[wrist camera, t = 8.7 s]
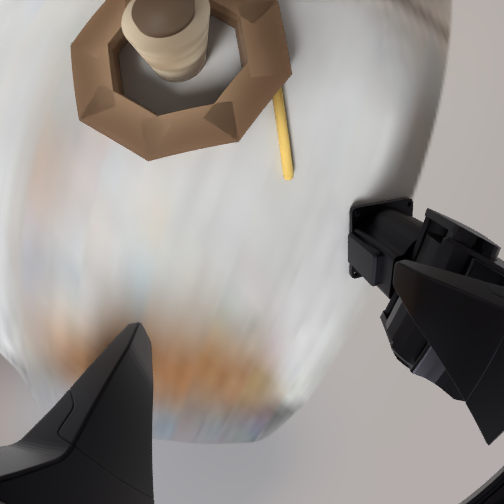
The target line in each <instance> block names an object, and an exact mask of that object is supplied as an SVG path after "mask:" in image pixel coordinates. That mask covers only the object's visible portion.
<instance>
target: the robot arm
mask: <svg viewBox="0 0 504 504" xmlns="http://www.w3.org/2000/svg"><path fill="white" fill-rule="evenodd" d="M407 203H408V205H407ZM356 211H358V212H357V214H356V215H355V212H356ZM412 212H413V201H412V199H410V198H407V197H406V198H400V199H394V200H388V201H382V202H376V203H371V204H365V205H359V206H354V207H352V208H351V210H350V213H349V214H350V233H349V235H348V262H349V263H350V265H349V274H350V276H351V277H352V278H359V277H364V278H365V279H366V280H367V281H368V282H369V284H371V285H372V286H377V287H378V288H379V289H380V290H381V291H382V292H383V293H384V294H385V295H386V296H387V297H388V298H389V299H391V300H390V302H389V304H388V305H387V307H386V309H385V310H384V311H383V313H382V315H381V316H380V318H381V320H382V323H383V325H384V328H385V331H386V333H387V336H388V339H389V342H390V345H391V348H392V350H393V352H394V354H395V356H396V357H397V359H398V360H399V361H400V362H401V363H402V364H404V365H405V366H406V367H408V368H410V371H411V372H412V373H414V374H416V375H419V376H422V377H424V378H426V379H428V380H430V381H431V382H433V383H435V384H436V385H438V386H439V387H440V388H442V389H443V390H444V391H445V392H446V393H448V394H449V395H450V396H451V397H452V398H453V399H456V400H461V401H465V402H466V404H467V406H468V408H469V410H470V412H471V413H472V415H473V417H474V419H475V421H476V423H477V425H478V427H479V429H480V431H481V433H482V435H483V437H484V439H485V441H486V443H487V444H488V445H490V444H491V443H492V442H493V441H494V440H495V439H496V438H498V436H500V435H501V434H502V433H503V432H504V261H503V260H501V259H500V258H498V257H497V256H498V254H499V251H500V249H501V248H500V247H499V246H498V245H497V244H495V243H494V242H492V241H491V240H489V239H488V238H486V237H485V236H484V235H482V234H480V233H479V232H477V231H475V230H473V229H471V228H470V227H468V226H466V225H464V224H462V223H460V222H458V221H456V220H453V219H451V218H449V217H447V216H445V215H442V214H440V213H438V212H436V211H433V210H431V209H429V208H427V210H426V213H425V216H426V217H425V220H424V223H423V222H421V221H419V220H417V219H416V218H413V217H412ZM355 271H356V273H355V274H354V272H355ZM152 410H153V369H152V347H151V342H150V339H149V337H148V335H147V333H146V331H145V329H144V327H143V325H142V324H141V323H140V322H137V323H131V324H128V325H127V326H126V328H125V329H124V330H123V331H122V332H121V333H120V334H119V335H118V336H117V337H116V338H115V339H114V340H113V341H112V343H111V344H110V345H109V346H108V347H107V348H106V349H105V350H104V351H103V352H102V353H101V354H100V356H99V357H98V358H97V359H96V360H95V361H94V362H93V363H92V364H91V365H90V367H89V368H88V369H87V370H86V371H85V372H84V373H83V374H82V375H81V377H80V378H79V379H78V380H77V381H76V382H75V383H74V384H73V386H72V387H71V388H70V390H68V391H67V392H66V394H65V395H64V396H63V397H62V398H61V399H60V400H59V401H58V403H57V404H56V405H55V406H54V407H53V408H52V409H51V410H50V411H49V412H48V413H47V414H46V415H45V416H44V417H43V418H42V419H41V420H40V421H39V422H38V423H37V424H36V425H35V426H34V427H33V428H32V429H31V430H30V431H29V432H28V433H27V434H26V435H25V436H24V437H23V438H22V439H21V440H19V441H18V442H16V443H14V444H12V445H8V446H2V447H0V504H154V499H153V498H154V495H153V476H152V475H153V473H152ZM459 504H504V466H503V467H502V468H501V469H500V470H499V471H498V472H497V473H496V474H495V475H494V476H492V477H491V478H490V479H489V480H488V481H487V482H486V483H485V484H484V485H482V486H481V487H480V488H479V489H477V490H476V491H475V492H474V493H473V494H471V495H470V496H469V497H467V498H466V499H465V500H464V501H462V502H461V503H459Z"/></svg>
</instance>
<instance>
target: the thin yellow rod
mask: <svg viewBox="0 0 504 504" xmlns="http://www.w3.org/2000/svg"><path fill="white" fill-rule="evenodd" d="M273 104H274V110H275V117H276V124H277V131H278V138H279V145H280V153H281V160H282V168H283V176H284V178H285V179H286V180H291V179H292V178H293V166H292V158H291V150H290V142H289V135H288V127H287V120H286V113H285V106H284V100H283V93H282V87H281V88H280V89H279V90H278V92H277V93H276V94H275V95H274V97H273Z"/></svg>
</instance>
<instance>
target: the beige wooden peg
mask: <svg viewBox="0 0 504 504" xmlns="http://www.w3.org/2000/svg"><path fill="white" fill-rule="evenodd" d="M209 18H210V4H209V0H131V1H130V2H129V4H128V5H127V7H126V8H125V11H124V13H123V16H122V21H121V26H122V31H123V34H124V36H125V37H126V39H127V40H128V41H129V42H130V43H131V44H132V46H133V47H134V48H135V49H136V50H137V51H138V52H139V54H140V55H141V56H142V57H143V58H144V59H145V61H146V62H147V63H148V64H149V65H150V66H151V68H152V69H153V70H154V71H155V72H156V74H157V75H158V76H159V77H161V78H162V79H164V80H166V81H170V82H183V81H186V80H189V79H191V78H193V77H194V76H196V75H197V74H198V73H199V72H200V71H201V70H202V68H203V67H204V65H205V62H206V54H207V41H208V29H209Z"/></svg>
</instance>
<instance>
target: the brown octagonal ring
mask: <svg viewBox="0 0 504 504" xmlns="http://www.w3.org/2000/svg"><path fill="white" fill-rule="evenodd" d="M130 1H131V0H106V1H105V2H104V3H103V4H102V6H101V7H100V8H99V9H98V10H97V11H96V13H95V14H94V15H93V16H92V18H91V19H90V20H89V21H88V23H87V24H86V25H85V27H84V28H83V29H82V31H81V32H80V33H79V35H78V36H77V37H76V39H75V40H74V42H73V43H72V44H71V60H72V71H73V81H74V89H75V97H76V103H77V110H78V116H79V120H80V121H81V122H83V123H85V124H86V125H88V126H90V127H92V128H93V129H95V130H97V131H98V132H100V133H102V134H104V135H105V136H107V137H109V138H110V139H112V140H114V141H115V142H117V143H119V144H120V145H122V146H124V147H126V148H127V149H129V150H131V151H132V152H134V153H136V154H137V155H139V156H141V157H142V158H144V159H145V160H147V161H151V160H155V159H159V158H163V157H167V156H171V155H175V154H179V153H184V152H188V151H193V150H197V149H202V148H207V147H212V146H217V145H222V144H228V143H233V142H239V140H240V139H241V138H242V136H243V135H244V134H245V132H246V131H247V130H248V128H249V127H250V126H251V125H252V123H253V122H254V121H255V119H256V118H257V117H258V115H259V114H260V113H261V112H262V110H263V109H264V108H265V107H266V105H267V104H268V103H269V102H270V100H271V99H272V98H273V97H274V95H275V94H276V93H277V92H278V90H279V89H280V88H281V87H282V86H283V84H284V83H285V82H286V81H287V80H288V78H289V77H290V76H291V75H292V71H291V65H290V59H289V54H288V48H287V43H286V38H285V33H284V28H283V23H282V18H281V13H280V9H279V4H278V1H277V0H209V4H210V14H211V15H213V16H215V17H216V18H218V19H220V20H222V21H223V22H225V23H227V24H229V25H230V26H232V27H234V28H235V31H236V37H237V42H238V48H239V54H240V60H241V66H242V70H241V71H240V72H239V73H238V74H237V76H236V77H235V78H234V79H233V80H232V82H231V83H230V84H229V85H228V87H227V88H226V89H225V90H224V92H223V93H222V94H221V95H220V97H219V98H218V99H217V101H216V102H215V103H214V104H210V105H205V106H200V107H195V108H190V109H185V110H181V111H177V112H172V113H168V114H164V115H160V116H159V115H157V114H156V113H154V112H152V111H150V110H149V109H147V108H145V107H144V106H142V105H140V104H138V103H137V102H135V101H133V100H131V99H130V98H128V97H126V96H124V92H123V86H122V79H121V72H120V64H119V56H118V53H119V52H120V50H121V49H122V48H123V46H124V45H125V44H126V43H127V41H128V40H127V39H126V37H125V36H124V34H123V31H122V26H121V21H122V16H123V13H124V11H125V8H126V7H127V5H128V4H129V2H130Z"/></svg>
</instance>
